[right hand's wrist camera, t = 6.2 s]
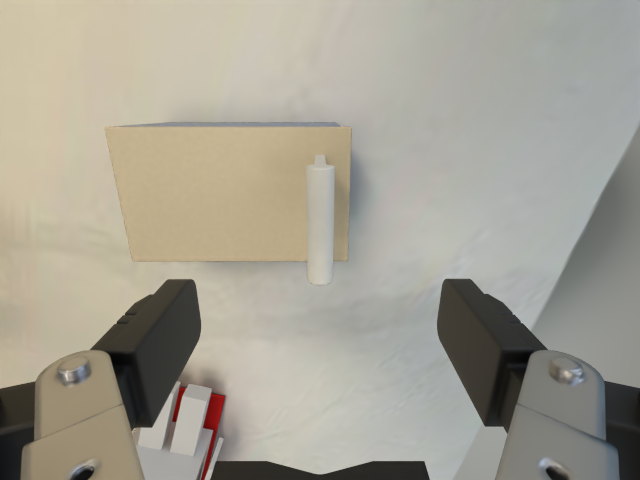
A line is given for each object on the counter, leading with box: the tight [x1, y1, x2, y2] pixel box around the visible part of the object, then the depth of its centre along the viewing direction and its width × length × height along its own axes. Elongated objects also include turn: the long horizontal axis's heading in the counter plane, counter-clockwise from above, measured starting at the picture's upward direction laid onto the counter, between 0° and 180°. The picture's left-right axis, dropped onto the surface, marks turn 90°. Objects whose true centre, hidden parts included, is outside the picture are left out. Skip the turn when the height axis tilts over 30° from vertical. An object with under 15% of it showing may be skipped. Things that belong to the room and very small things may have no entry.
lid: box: [105, 127, 352, 285], centre depth 22 cm, size 16×10×8 cm, turn 90°
